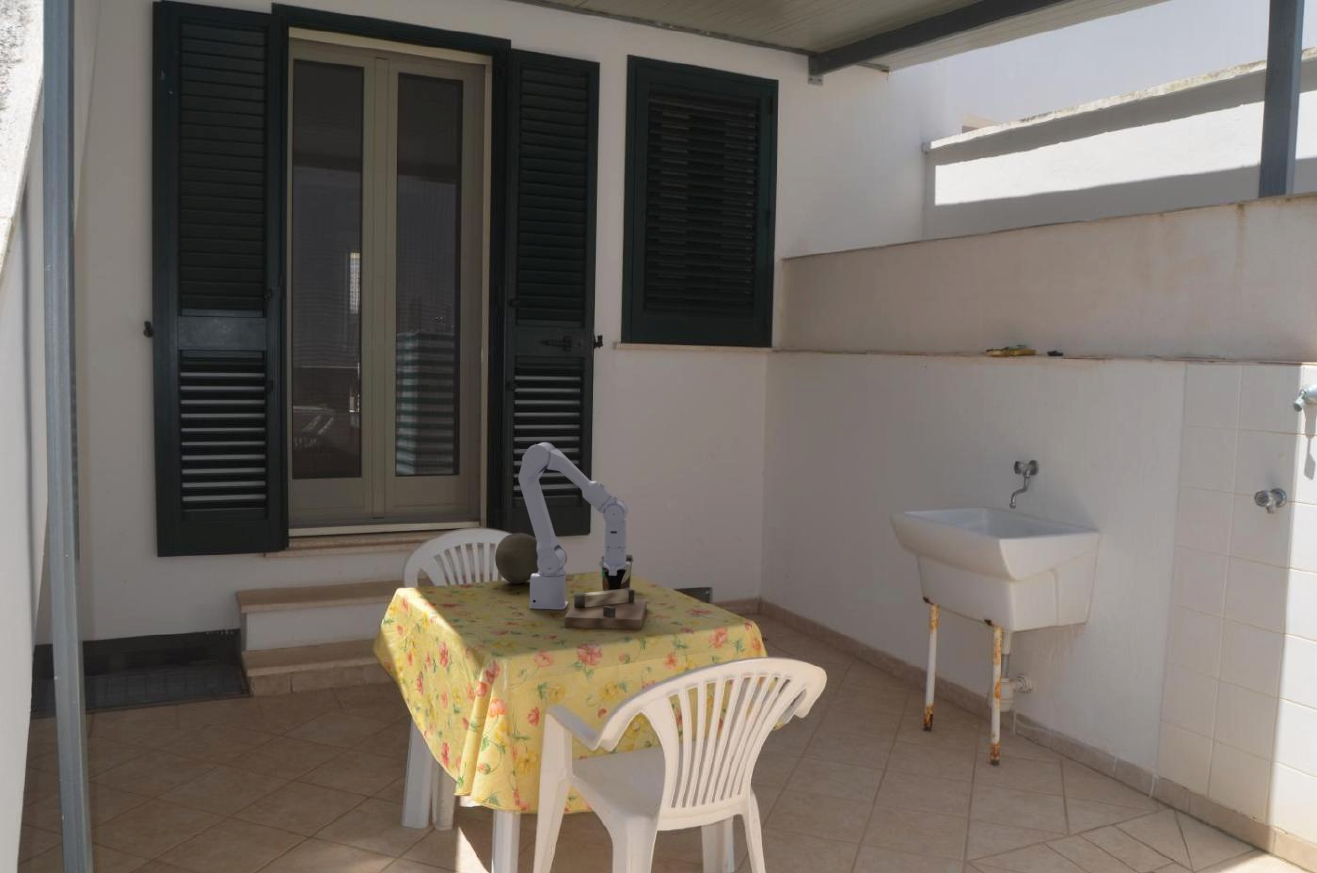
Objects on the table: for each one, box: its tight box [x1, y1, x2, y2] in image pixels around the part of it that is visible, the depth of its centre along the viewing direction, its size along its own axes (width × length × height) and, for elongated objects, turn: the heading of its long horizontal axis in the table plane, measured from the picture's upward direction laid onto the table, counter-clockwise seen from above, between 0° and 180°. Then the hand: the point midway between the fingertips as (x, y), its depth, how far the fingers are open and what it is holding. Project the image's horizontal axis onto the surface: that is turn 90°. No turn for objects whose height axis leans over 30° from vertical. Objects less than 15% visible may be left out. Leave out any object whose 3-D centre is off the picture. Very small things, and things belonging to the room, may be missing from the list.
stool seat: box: [564, 598, 648, 630], centre depth 275 cm, size 19×22×5 cm
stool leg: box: [573, 587, 635, 608], centre depth 279 cm, size 17×3×3 cm, turn 120°
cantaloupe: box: [494, 532, 540, 585], centre depth 312 cm, size 14×14×15 cm
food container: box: [598, 553, 634, 591], centre depth 306 cm, size 12×6×10 cm, turn 144°
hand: (614, 596), depth 284 cm, fingers closed
